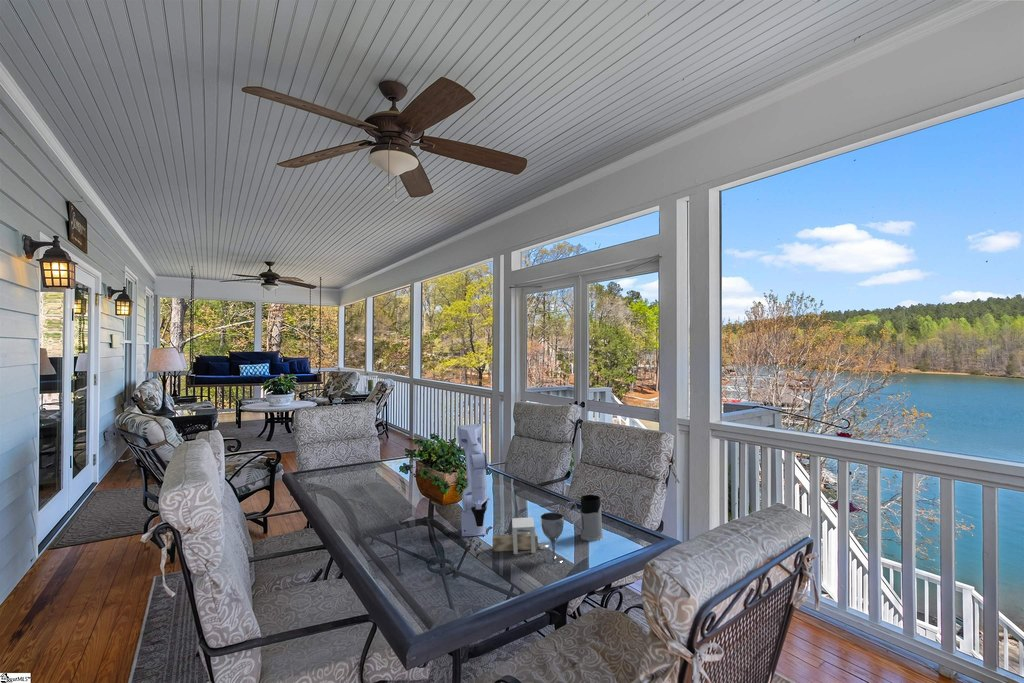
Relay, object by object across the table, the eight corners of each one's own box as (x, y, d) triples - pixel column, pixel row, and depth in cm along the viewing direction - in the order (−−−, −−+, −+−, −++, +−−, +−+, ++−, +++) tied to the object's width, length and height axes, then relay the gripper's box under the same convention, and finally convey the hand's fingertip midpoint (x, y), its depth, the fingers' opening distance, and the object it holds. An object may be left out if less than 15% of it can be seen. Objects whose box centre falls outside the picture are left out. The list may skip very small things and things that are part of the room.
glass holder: (605, 540, 176) (603, 500, 177) (568, 542, 176) (566, 502, 177) (601, 531, 185) (599, 493, 185) (565, 533, 185) (563, 495, 185)
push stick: (493, 552, 171) (492, 538, 171) (493, 549, 174) (492, 535, 174) (538, 549, 172) (537, 535, 172) (537, 546, 174) (536, 533, 174)
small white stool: (513, 555, 167) (512, 528, 167) (513, 543, 178) (512, 518, 178) (535, 554, 167) (534, 527, 168) (534, 542, 178) (533, 517, 178)
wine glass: (541, 555, 166) (539, 513, 167) (563, 553, 167) (561, 511, 167) (544, 565, 158) (542, 521, 159) (567, 563, 159) (565, 519, 159)
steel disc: (544, 551, 170) (544, 548, 170) (535, 548, 173) (535, 545, 173) (552, 547, 173) (552, 544, 173) (543, 544, 176) (543, 541, 176)
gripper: (488, 491, 168) (490, 529, 168) (490, 480, 183) (491, 515, 183) (469, 492, 168) (470, 530, 168) (472, 481, 183) (473, 515, 182)
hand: (480, 522), depth 175 cm, fingers open, 7 cm apart
